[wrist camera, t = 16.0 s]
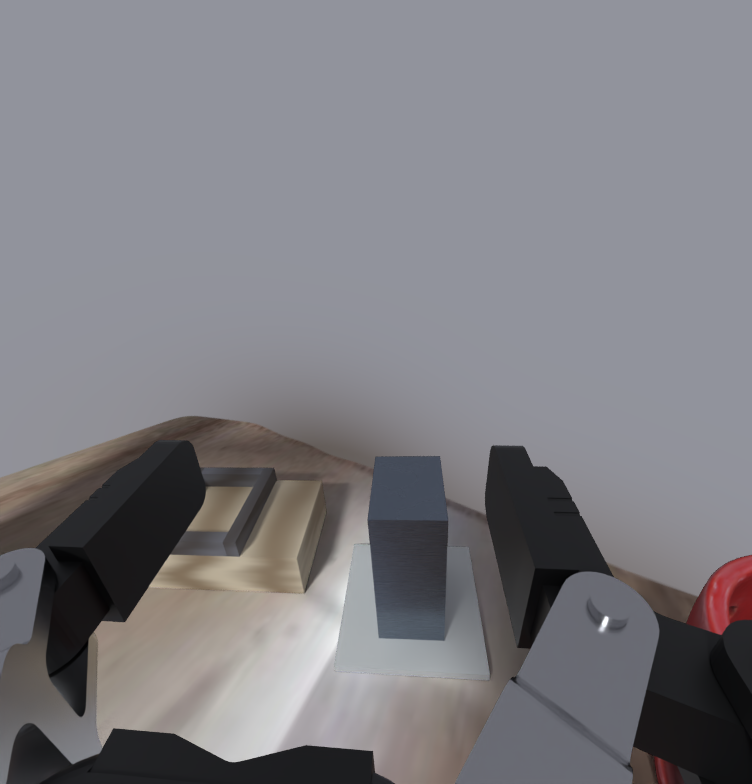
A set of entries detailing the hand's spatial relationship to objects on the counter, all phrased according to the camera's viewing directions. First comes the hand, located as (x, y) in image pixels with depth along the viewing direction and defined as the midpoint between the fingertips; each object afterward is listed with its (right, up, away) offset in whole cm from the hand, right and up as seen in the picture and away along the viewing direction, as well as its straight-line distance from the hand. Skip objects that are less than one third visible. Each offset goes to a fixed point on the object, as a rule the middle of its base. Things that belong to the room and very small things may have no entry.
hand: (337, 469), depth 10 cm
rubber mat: (+4, -14, +19) cm, 24 cm away
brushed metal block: (+4, -14, +19) cm, 23 cm away
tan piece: (-13, -12, +25) cm, 31 cm away
